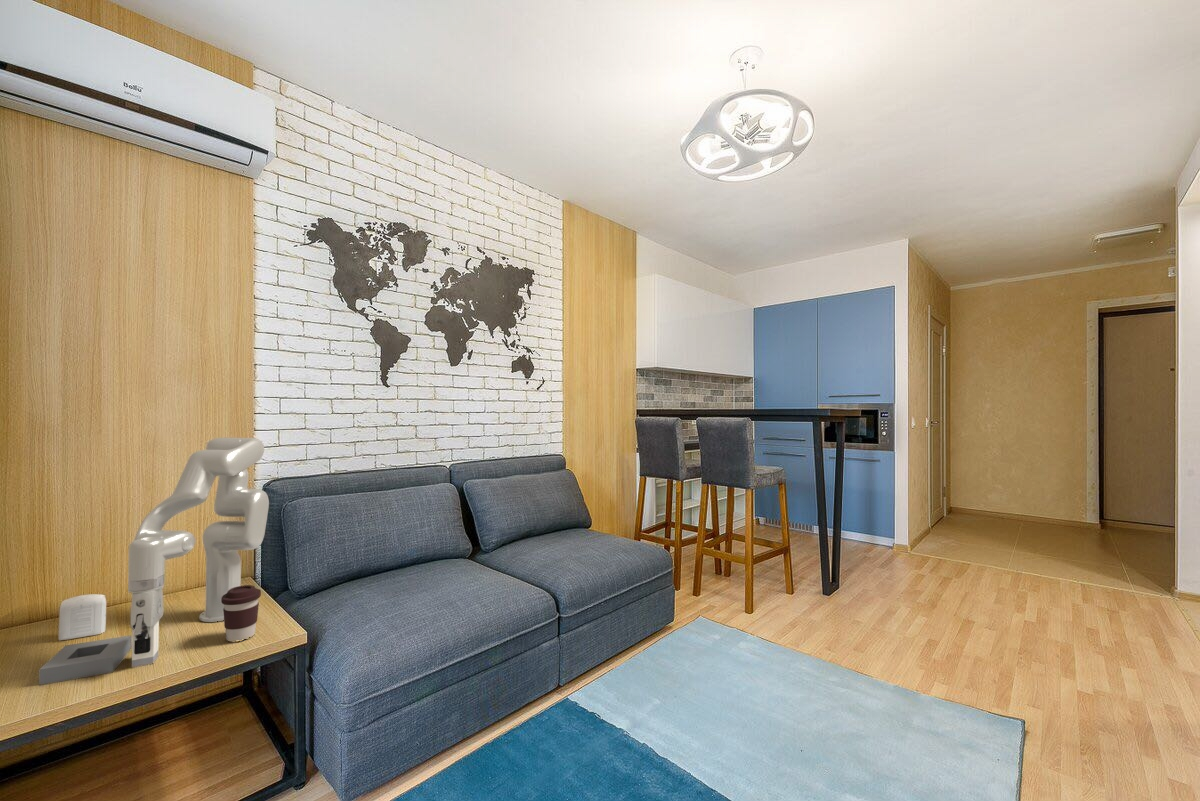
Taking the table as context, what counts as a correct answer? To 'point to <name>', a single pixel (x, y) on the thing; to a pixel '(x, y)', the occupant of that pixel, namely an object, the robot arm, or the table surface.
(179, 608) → the table surface
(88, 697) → the table surface
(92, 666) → the socket box
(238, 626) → the coffee cup
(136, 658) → the plug
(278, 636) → the table surface
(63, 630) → the photo printer
